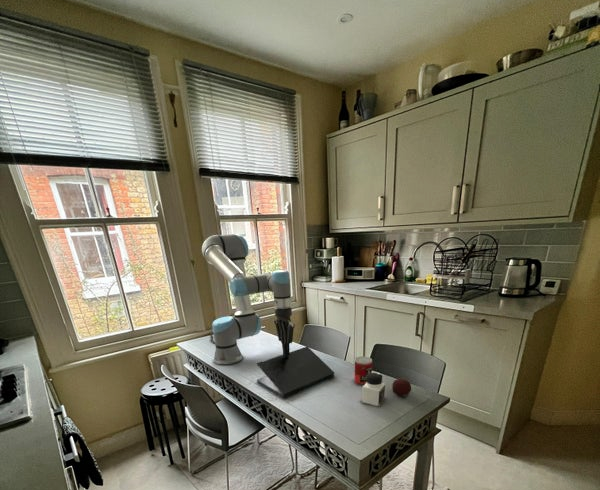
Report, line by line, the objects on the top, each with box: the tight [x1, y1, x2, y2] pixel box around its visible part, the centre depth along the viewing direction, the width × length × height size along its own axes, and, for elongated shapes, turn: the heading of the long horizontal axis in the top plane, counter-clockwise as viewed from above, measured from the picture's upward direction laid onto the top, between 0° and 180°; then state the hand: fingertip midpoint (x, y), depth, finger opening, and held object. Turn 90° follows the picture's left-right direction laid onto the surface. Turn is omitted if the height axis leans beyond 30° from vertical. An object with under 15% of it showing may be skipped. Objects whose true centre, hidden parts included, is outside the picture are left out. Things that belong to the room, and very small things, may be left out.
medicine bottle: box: [361, 371, 386, 407], centre depth 126 cm, size 7×7×12 cm
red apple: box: [391, 378, 412, 397], centre depth 131 cm, size 7×8×7 cm
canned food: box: [353, 356, 373, 386], centre depth 142 cm, size 8×8×11 cm
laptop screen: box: [256, 346, 335, 395], centre depth 146 cm, size 21×30×1 cm
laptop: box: [256, 373, 335, 400], centre depth 149 cm, size 21×30×2 cm
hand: (286, 356), depth 150 cm, fingers closed
